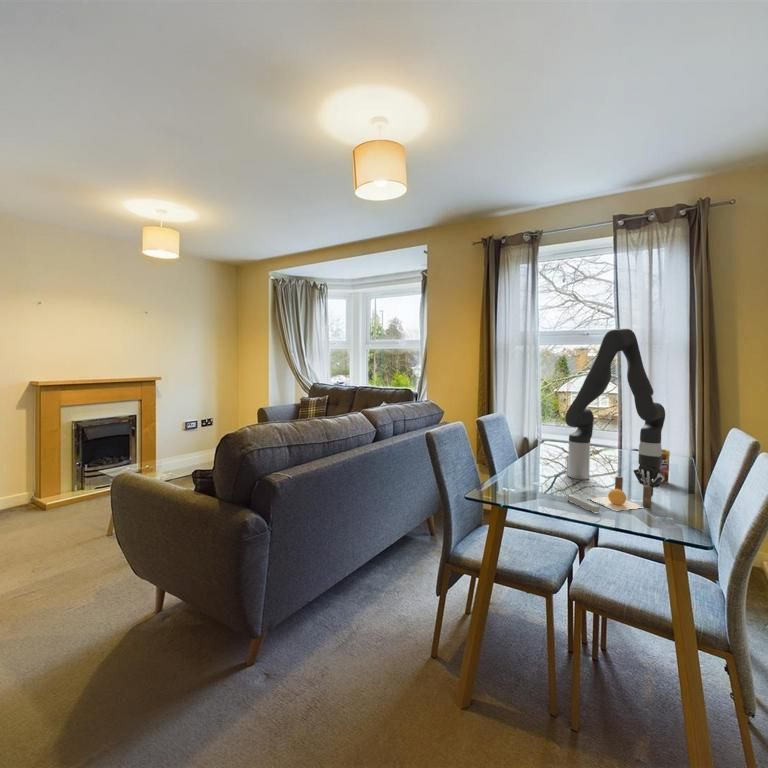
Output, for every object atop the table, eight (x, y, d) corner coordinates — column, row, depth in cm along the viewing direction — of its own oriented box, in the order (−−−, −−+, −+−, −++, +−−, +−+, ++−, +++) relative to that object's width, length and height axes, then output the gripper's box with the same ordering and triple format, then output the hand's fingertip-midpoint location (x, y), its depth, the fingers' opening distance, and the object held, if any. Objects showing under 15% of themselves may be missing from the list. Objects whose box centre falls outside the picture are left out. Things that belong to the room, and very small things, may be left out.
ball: (602, 500, 160) (607, 485, 159) (615, 503, 161) (620, 488, 161) (613, 505, 154) (618, 490, 154) (627, 509, 155) (631, 493, 155)
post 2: (640, 506, 155) (641, 485, 155) (646, 506, 156) (647, 485, 156) (646, 509, 153) (647, 487, 152) (652, 508, 153) (653, 487, 153)
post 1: (613, 495, 168) (613, 476, 168) (618, 495, 169) (619, 476, 168) (618, 497, 165) (619, 478, 165) (623, 497, 166) (624, 477, 166)
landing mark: (586, 499, 163) (586, 498, 163) (615, 496, 167) (615, 496, 167) (615, 511, 150) (615, 510, 150) (645, 508, 154) (645, 507, 154)
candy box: (645, 481, 189) (646, 448, 189) (644, 479, 193) (645, 447, 192) (668, 484, 185) (669, 450, 184) (667, 481, 189) (668, 449, 188)
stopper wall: (567, 501, 161) (567, 494, 161) (571, 500, 162) (572, 494, 162) (594, 513, 148) (594, 506, 148) (599, 513, 148) (599, 506, 148)
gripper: (628, 450, 167) (626, 492, 168) (657, 457, 155) (655, 502, 155) (642, 449, 169) (641, 490, 170) (673, 456, 157) (671, 501, 157)
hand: (648, 496), depth 163 cm, fingers closed
